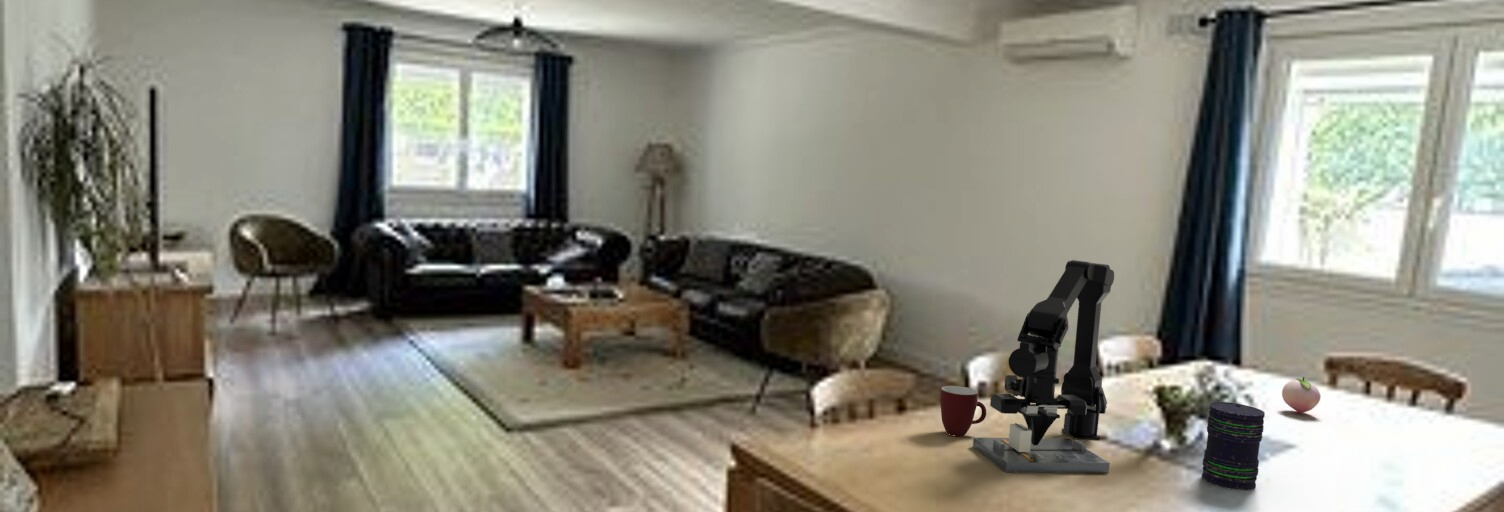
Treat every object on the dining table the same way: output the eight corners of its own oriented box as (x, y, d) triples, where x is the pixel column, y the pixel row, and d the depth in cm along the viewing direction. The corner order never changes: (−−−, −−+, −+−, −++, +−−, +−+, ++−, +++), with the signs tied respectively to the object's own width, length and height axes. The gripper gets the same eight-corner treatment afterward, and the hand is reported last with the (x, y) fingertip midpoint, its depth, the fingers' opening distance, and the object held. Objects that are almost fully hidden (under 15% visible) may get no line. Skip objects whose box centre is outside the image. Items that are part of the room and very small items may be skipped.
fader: (1019, 444, 190) (1021, 423, 190) (1029, 452, 186) (1031, 430, 185) (1008, 444, 190) (1010, 423, 190) (1018, 452, 185) (1020, 430, 185)
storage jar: (1254, 494, 175) (1264, 418, 174) (1198, 482, 180) (1206, 408, 179) (1257, 481, 184) (1266, 408, 182) (1203, 469, 189) (1212, 399, 187)
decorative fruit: (1273, 407, 248) (1278, 371, 247) (1306, 410, 247) (1310, 374, 246) (1289, 416, 239) (1293, 379, 238) (1322, 419, 238) (1327, 382, 237)
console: (1068, 447, 199) (1069, 431, 198) (1108, 472, 183) (1110, 455, 183) (972, 446, 195) (974, 430, 194) (1005, 472, 179) (1007, 454, 179)
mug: (973, 428, 209) (977, 385, 208) (991, 439, 201) (995, 394, 200) (931, 429, 206) (934, 385, 205) (947, 440, 199) (951, 395, 198)
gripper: (1064, 362, 196) (1057, 433, 198) (982, 360, 193) (976, 432, 194) (1091, 375, 185) (1084, 449, 187) (1005, 373, 182) (998, 449, 184)
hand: (1034, 444), depth 188 cm, fingers closed
